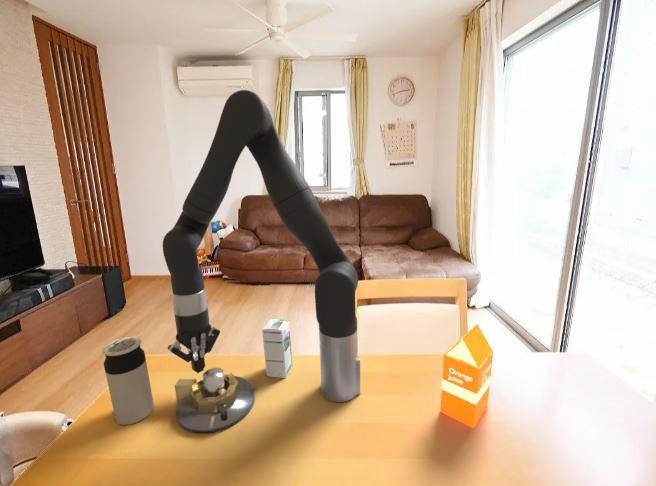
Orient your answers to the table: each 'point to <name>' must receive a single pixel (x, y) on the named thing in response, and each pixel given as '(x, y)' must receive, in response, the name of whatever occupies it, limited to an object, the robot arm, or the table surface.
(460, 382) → the orange juice
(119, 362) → the travel mug
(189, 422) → the cap plate
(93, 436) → the table surface
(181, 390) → the ring nut
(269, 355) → the syrup box
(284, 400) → the table surface
